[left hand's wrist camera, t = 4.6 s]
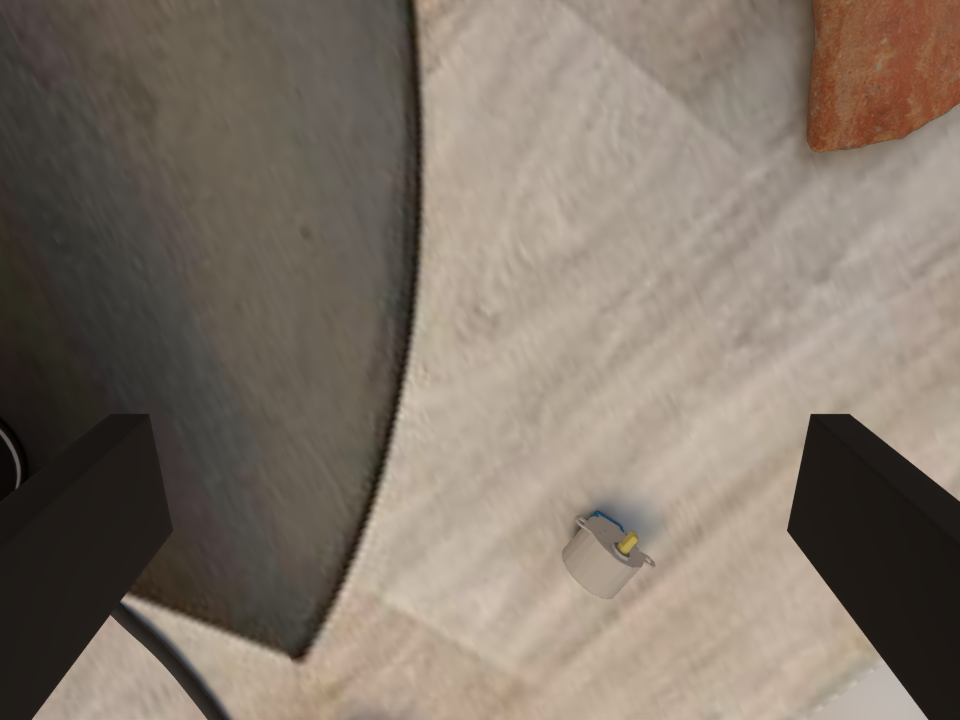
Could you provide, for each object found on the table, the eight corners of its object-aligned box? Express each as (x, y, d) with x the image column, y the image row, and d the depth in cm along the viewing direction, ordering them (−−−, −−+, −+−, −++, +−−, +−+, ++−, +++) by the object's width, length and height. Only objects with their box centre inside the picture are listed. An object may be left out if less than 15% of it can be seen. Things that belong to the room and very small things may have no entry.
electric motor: (659, 524, 46) (680, 570, 42) (619, 569, 48) (634, 618, 43) (584, 479, 45) (596, 520, 40) (544, 526, 46) (551, 572, 42)
